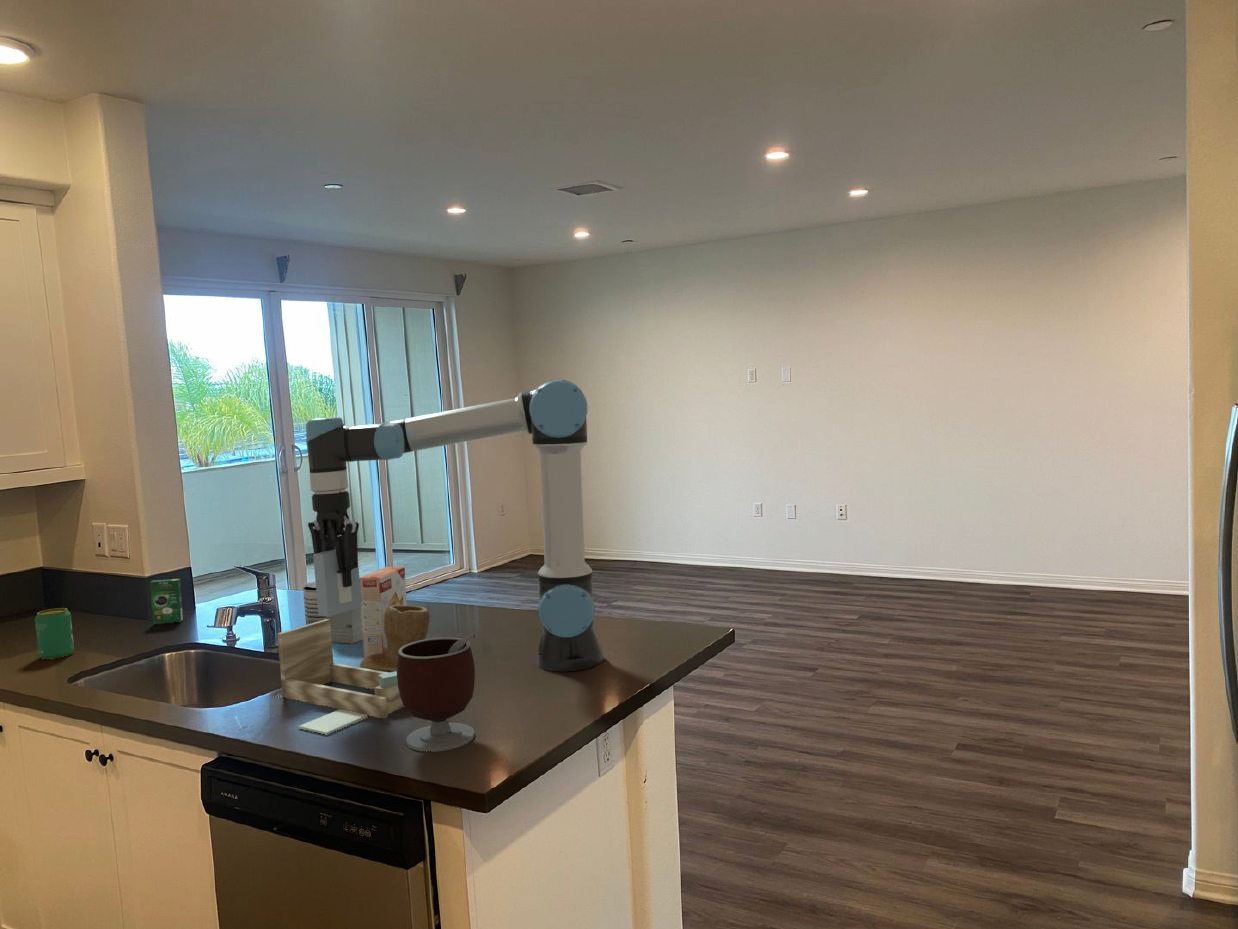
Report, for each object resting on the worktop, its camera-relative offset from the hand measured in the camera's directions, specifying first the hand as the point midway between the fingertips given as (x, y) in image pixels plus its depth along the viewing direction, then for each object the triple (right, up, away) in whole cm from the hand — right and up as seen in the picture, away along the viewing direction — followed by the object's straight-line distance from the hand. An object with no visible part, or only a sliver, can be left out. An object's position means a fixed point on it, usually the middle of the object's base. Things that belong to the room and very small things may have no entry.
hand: (339, 601), depth 191 cm
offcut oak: (+13, -21, -6) cm, 25 cm away
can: (-25, -17, +68) cm, 74 cm away
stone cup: (+8, -19, +19) cm, 28 cm away
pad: (+3, -22, -15) cm, 26 cm away
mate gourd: (+27, -21, -26) cm, 43 cm away
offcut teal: (+13, -16, -6) cm, 21 cm away
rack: (+3, -20, 0) cm, 21 cm away
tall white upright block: (0, -2, 0) cm, 2 cm away
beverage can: (-90, -22, +48) cm, 104 cm away
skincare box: (-12, -18, +48) cm, 52 cm away
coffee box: (-76, -19, +79) cm, 111 cm away
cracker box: (+2, -18, +31) cm, 36 cm away
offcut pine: (+13, -18, -6) cm, 23 cm away
